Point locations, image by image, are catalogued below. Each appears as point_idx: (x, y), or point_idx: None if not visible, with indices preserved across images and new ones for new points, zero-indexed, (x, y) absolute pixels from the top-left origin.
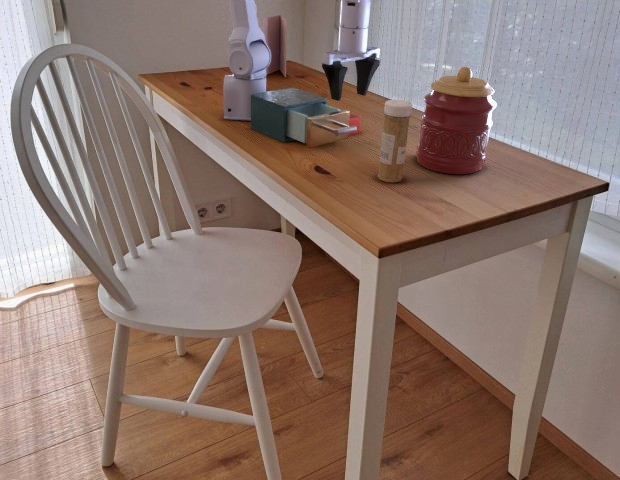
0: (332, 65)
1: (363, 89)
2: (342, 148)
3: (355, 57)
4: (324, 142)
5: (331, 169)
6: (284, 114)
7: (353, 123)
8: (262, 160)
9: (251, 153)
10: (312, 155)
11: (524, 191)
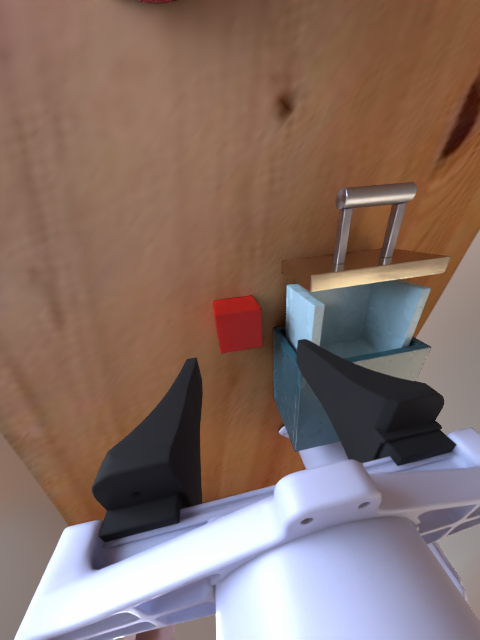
0: (439, 429)
1: (196, 374)
2: (316, 229)
3: (370, 474)
4: (352, 252)
5: (445, 112)
6: (413, 337)
7: (236, 306)
8: (463, 249)
9: (442, 288)
10: None
11: None
